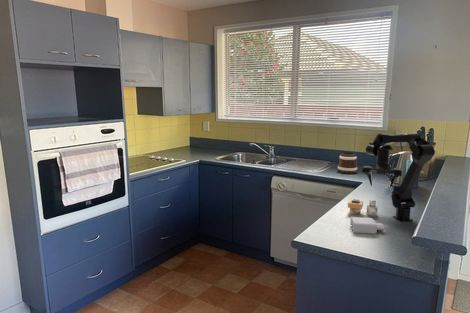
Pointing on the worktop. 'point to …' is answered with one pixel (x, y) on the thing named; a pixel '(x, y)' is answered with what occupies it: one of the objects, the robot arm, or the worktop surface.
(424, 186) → the worktop surface
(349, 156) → the brown layered cake
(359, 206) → the washer
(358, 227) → the white plastic bottle
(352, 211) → the small brown bottle
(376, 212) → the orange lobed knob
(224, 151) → the worktop surface
